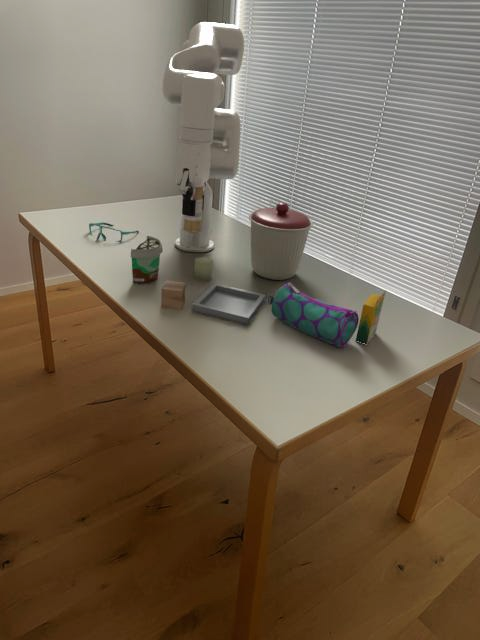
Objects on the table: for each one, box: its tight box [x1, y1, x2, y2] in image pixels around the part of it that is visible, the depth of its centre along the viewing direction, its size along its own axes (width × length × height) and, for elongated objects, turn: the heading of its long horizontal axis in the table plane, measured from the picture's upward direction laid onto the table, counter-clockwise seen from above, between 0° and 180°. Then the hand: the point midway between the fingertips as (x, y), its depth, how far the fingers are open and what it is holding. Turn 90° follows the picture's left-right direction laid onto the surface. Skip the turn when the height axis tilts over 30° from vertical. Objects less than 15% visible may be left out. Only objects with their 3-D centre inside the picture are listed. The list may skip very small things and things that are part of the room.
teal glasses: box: [88, 221, 140, 243], centre depth 164 cm, size 14×15×5 cm
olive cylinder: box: [193, 256, 214, 282], centre depth 139 cm, size 5×5×5 cm
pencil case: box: [266, 282, 360, 349], centre depth 116 cm, size 21×9×10 cm, turn 48°
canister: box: [248, 202, 314, 281], centre depth 143 cm, size 18×18×21 cm
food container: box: [130, 235, 164, 285], centre depth 134 cm, size 12×6×10 cm, turn 168°
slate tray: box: [191, 282, 267, 326], centre depth 125 cm, size 14×14×2 cm
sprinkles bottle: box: [183, 179, 204, 233], centre depth 122 cm, size 5×5×13 cm
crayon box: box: [355, 289, 387, 345], centre depth 116 cm, size 7×3×12 cm, turn 150°
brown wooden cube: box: [160, 280, 187, 310], centre depth 123 cm, size 5×5×5 cm
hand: (192, 211), depth 123 cm, fingers closed on sprinkles bottle, 4 cm apart
